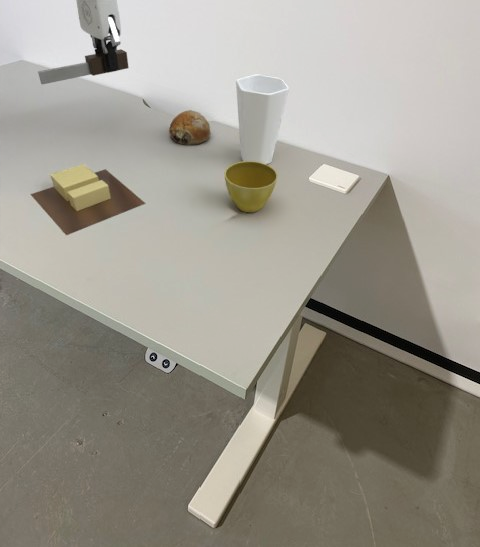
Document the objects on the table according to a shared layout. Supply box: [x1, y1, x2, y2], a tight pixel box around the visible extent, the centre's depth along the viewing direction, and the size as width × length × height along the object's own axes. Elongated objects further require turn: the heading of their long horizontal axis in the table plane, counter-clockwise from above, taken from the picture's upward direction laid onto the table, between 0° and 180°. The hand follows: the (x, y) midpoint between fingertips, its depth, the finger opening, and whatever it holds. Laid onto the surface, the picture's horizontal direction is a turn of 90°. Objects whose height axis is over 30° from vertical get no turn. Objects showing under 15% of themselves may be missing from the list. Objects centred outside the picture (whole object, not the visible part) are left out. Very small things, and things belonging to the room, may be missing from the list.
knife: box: [37, 49, 129, 85], centre depth 91 cm, size 20×2×4 cm, turn 132°
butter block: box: [49, 163, 99, 201], centre depth 82 cm, size 7×6×3 cm
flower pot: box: [223, 160, 278, 213], centre depth 82 cm, size 10×10×7 cm
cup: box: [235, 73, 290, 165], centre depth 92 cm, size 11×10×17 cm
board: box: [30, 168, 146, 236], centre depth 81 cm, size 16×16×2 cm
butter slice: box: [67, 180, 111, 211], centre depth 79 cm, size 7×2×3 cm, turn 131°
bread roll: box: [168, 109, 211, 146], centre depth 103 cm, size 10×10×8 cm
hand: (108, 68), depth 95 cm, fingers closed on knife, 2 cm apart
